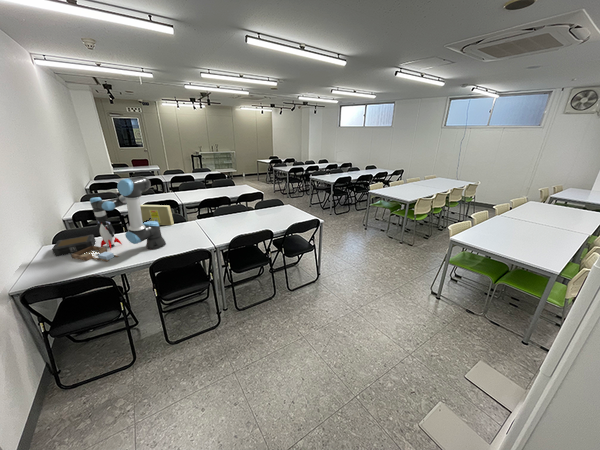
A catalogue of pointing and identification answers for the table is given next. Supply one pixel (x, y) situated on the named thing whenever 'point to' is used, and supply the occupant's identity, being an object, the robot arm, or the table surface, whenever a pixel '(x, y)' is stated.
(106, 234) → the rocket
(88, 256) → the tray
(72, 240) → the cash box
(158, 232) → the robot arm
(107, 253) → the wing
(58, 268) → the table surface
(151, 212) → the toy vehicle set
